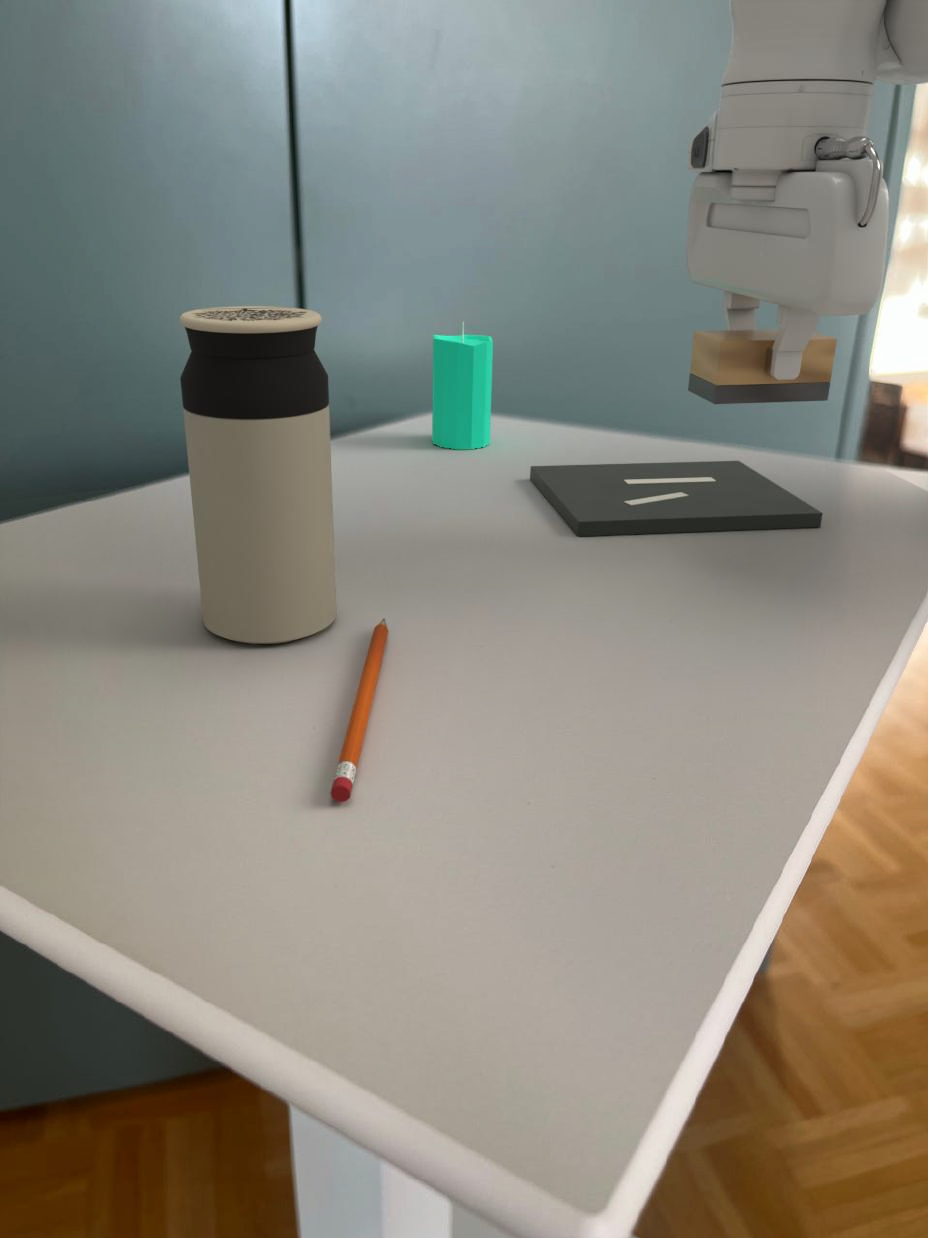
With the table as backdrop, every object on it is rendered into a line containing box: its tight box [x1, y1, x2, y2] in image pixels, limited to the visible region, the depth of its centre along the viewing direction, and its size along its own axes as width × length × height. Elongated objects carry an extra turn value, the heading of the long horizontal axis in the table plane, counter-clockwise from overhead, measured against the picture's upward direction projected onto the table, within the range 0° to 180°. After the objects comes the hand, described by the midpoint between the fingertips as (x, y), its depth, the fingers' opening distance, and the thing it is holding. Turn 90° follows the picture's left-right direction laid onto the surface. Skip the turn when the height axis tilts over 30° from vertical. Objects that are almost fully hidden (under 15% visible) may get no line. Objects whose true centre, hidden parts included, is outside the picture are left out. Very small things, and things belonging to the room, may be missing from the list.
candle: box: [431, 321, 494, 450], centre depth 100 cm, size 6×6×12 cm
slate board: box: [529, 460, 823, 537], centre depth 85 cm, size 20×16×1 cm
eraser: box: [687, 328, 838, 405], centre depth 67 cm, size 8×4×4 cm, turn 101°
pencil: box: [330, 618, 389, 803], centre depth 52 cm, size 1×19×1 cm, turn 178°
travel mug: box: [179, 305, 337, 645], centre depth 57 cm, size 8×8×18 cm
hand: (759, 369), depth 67 cm, fingers closed on eraser, 4 cm apart
